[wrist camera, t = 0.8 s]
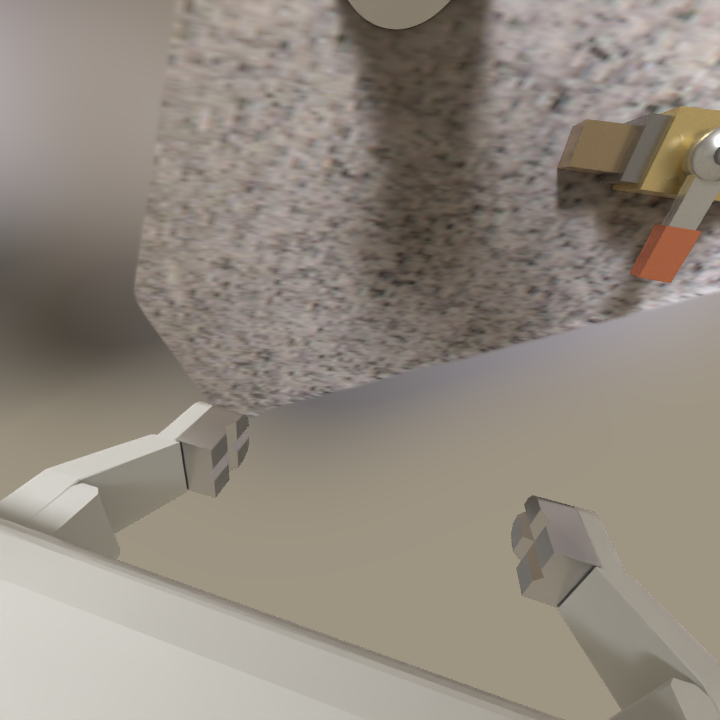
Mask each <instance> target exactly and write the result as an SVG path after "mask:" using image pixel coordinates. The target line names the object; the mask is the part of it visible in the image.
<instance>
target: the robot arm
mask: <svg viewBox="0 0 720 720" xmlns="http://www.w3.org/2000/svg"><path fill="white" fill-rule="evenodd" d="M348 1H349V3H350V4H351V5H352V7H353V8H354V9H355V10H356V11H357V12H358V13H359V14H360V15H361V16H362V17H363V18H365V19H366V20H367V21H369V22H371V23H372V24H375V25H377V26H380V27H383V28H387V29H404V28H409V27H413V26H416V25H418V24H421V23H423V22H425V21H426V20H428V19H430V18H431V17H433V16H434V15H435V14H437V13H438V12H439V11H440V10H441V9H443V8H444V7H445V6H446V5H447V4H448V3H449V1H450V0H348ZM248 426H249V421H248V417H247V416H246V415H244V414H241V413H237V412H234V411H231V410H228V409H224V408H221V407H218V406H213V405H210V404H207V403H204V402H197V403H195V404H193V405H192V406H191V407H190V408H189V409H188V410H186V411H185V412H184V413H183V414H182V415H181V416H179V417H178V418H177V419H176V420H175V421H173V422H172V423H171V424H170V425H169V426H168V427H166V428H165V429H164V430H163V431H162V432H161V433H159V434H158V435H154V434H151V435H148V436H145V437H142V438H139V439H136V440H133V441H130V442H127V443H124V444H121V445H117V446H115V447H112V448H108V449H105V450H102V451H99V452H97V453H93V454H90V455H87V456H85V457H81V458H78V459H75V460H72V461H69V462H66V463H63V464H60V465H57V466H54V467H51V468H48V469H46V470H44V471H43V472H42V473H40V474H38V475H37V476H36V477H34V478H33V479H31V480H30V481H28V482H27V483H26V484H24V485H23V486H21V487H20V488H19V489H17V490H16V491H14V492H13V493H11V494H10V495H9V496H7V497H6V498H4V499H3V500H1V501H0V720H564V719H561V718H557V717H555V716H552V715H549V714H547V713H544V712H541V711H538V710H536V709H533V708H530V707H527V706H524V705H522V704H519V703H516V702H513V701H510V700H508V699H505V698H502V697H499V696H496V695H494V694H491V693H488V692H485V691H482V690H480V689H477V688H474V687H471V686H469V685H466V684H463V683H460V682H458V681H455V680H452V679H449V678H446V677H443V676H441V675H438V674H435V673H432V672H430V671H427V670H424V669H421V668H418V667H416V666H413V665H410V664H407V663H404V662H402V661H399V660H396V659H393V658H390V657H387V656H385V655H382V654H379V653H376V652H374V651H371V650H368V649H365V648H363V647H360V646H357V645H354V644H351V643H349V642H346V641H343V640H340V639H337V638H335V637H332V636H329V635H326V634H324V633H321V632H318V631H315V630H312V629H309V628H307V627H304V626H301V625H298V624H296V623H293V622H290V621H287V620H284V619H281V618H279V617H276V616H273V615H270V614H268V613H265V612H262V611H259V610H256V609H254V608H251V607H248V606H245V605H243V604H240V603H237V602H234V601H231V600H228V599H226V598H223V597H220V596H217V595H214V594H212V593H209V592H206V591H203V590H201V589H198V588H195V587H192V586H189V585H187V584H184V583H181V582H178V581H175V580H173V579H170V578H167V577H164V576H162V575H159V574H156V573H153V572H150V571H148V570H145V569H141V568H139V567H136V566H133V565H131V564H128V563H125V562H122V561H120V560H117V559H116V558H118V556H119V555H120V547H119V545H118V542H117V539H116V536H115V533H117V532H118V531H120V530H122V529H124V528H125V527H127V526H129V525H130V524H132V523H134V522H136V521H138V520H139V519H141V518H143V517H144V516H146V515H148V514H150V513H151V512H153V511H155V510H156V509H158V508H160V507H162V506H163V505H165V504H167V503H169V502H170V501H172V500H174V499H176V498H177V497H179V496H181V495H183V494H184V493H186V492H187V490H190V491H193V492H197V493H200V494H204V495H207V496H211V497H214V498H216V497H217V495H218V494H219V493H220V491H221V490H222V489H223V487H224V486H225V485H226V483H227V482H228V481H229V472H230V471H232V470H234V469H236V468H238V467H239V465H240V464H241V463H242V461H243V460H244V458H245V456H246V453H247V451H248V446H249V436H248V435H247V433H246V432H245V430H246V429H247V427H248ZM525 509H526V512H524V513H521V514H519V515H518V516H517V517H516V519H515V521H514V523H513V528H512V534H511V535H512V547H513V551H514V553H515V554H516V555H517V557H518V558H519V559H520V561H521V562H520V564H519V565H518V567H517V573H518V578H519V583H520V588H521V593H522V596H525V597H528V598H531V599H534V600H537V601H540V602H543V603H545V604H548V605H551V606H554V607H557V608H558V609H557V610H558V612H559V613H560V615H561V616H562V618H563V619H564V621H565V622H566V624H567V626H568V627H569V629H570V630H571V632H572V633H573V635H574V637H575V638H576V640H577V641H578V643H579V644H580V646H581V647H582V649H583V650H584V652H585V653H586V655H587V657H588V658H589V660H590V661H591V663H592V664H593V666H594V668H595V669H596V671H597V672H598V674H599V675H600V677H601V679H602V680H603V682H604V683H605V685H606V686H607V688H608V690H609V691H610V693H611V694H612V696H613V697H614V699H615V700H616V702H617V703H618V705H619V707H620V708H621V710H622V711H620V712H618V713H617V714H615V715H614V716H612V717H611V718H609V719H607V720H720V664H719V663H718V662H717V661H716V660H715V659H714V658H713V657H712V656H711V655H710V654H709V653H708V652H707V651H706V650H705V649H704V648H703V647H702V646H701V645H700V644H699V643H698V642H697V641H696V640H695V639H694V638H693V637H692V636H691V635H690V634H689V633H688V632H687V631H686V630H685V629H684V628H683V627H682V626H681V625H680V624H679V623H678V622H677V621H676V620H675V619H674V618H673V617H672V616H671V615H670V614H669V613H668V612H667V611H666V610H665V609H664V608H663V607H662V606H661V605H660V604H659V603H658V602H657V601H656V600H655V599H654V598H653V597H652V596H651V595H650V594H649V593H648V592H647V591H646V590H645V589H644V588H643V587H642V586H641V585H640V584H639V583H638V582H637V581H636V580H635V579H634V578H631V577H629V576H627V575H626V573H625V571H624V568H623V566H622V564H621V562H620V560H619V558H618V556H617V554H616V552H615V550H614V548H613V546H612V543H611V542H610V539H609V537H608V535H607V533H606V531H605V529H604V527H603V525H602V523H601V521H600V518H599V517H598V515H597V514H596V513H595V512H593V511H589V510H586V509H582V508H578V507H574V506H570V505H567V504H563V503H559V502H555V501H552V500H548V499H545V498H541V497H537V496H531V497H529V498H528V499H527V501H526V503H525Z"/></svg>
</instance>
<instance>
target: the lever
mask: <svg viewBox="0 0 720 720" xmlns="http://www.w3.org/2000/svg"><path fill="white" fill-rule="evenodd" d="M682 167H683V172H684V174H685V175H686V176H687V178H686V180H685V181H684V183H683V185H682V187H681V189H680V191H679V192H678V194H677V196H676V198H675V200H674V202H673V204H672V205H671V207H670V209H669V211H668V213H667V215H666V216H665V218H664V220H663V222H662V224H661V225H658V224H655V226H654V228H653V230H652V232H651V234H650V235H649V237H648V239H647V241H646V243H645V245H644V247H643V248H642V250H641V252H640V254H639V256H638V258H637V260H636V262H635V263H634V265H633V267H632V269H631V271H630V274H632V275H635V276H637V277H640V278H645V279H651V280H657V281H662V282H668V283H671V282H672V280H673V278H674V277H675V275H676V273H677V272H678V270H679V268H680V267H681V265H682V263H683V262H684V260H685V259H686V257H687V255H688V254H689V252H690V250H691V249H692V247H693V245H694V244H695V242H696V240H697V239H698V237H699V235H700V234H701V232H702V231H696V229H697V228H698V226H699V224H700V223H701V221H702V219H703V217H704V216H705V214H706V212H707V211H708V209H709V207H710V206H711V204H712V202H713V201H714V199H715V197H716V196H717V194H718V192H719V191H720V126H719V127H715V128H712V129H710V130H708V131H706V132H704V133H703V134H701V135H700V136H699V137H697V138H696V139H695V140H694V141H693V142H692V143H691V145H690V146H689V147H688V149H687V151H686V153H685V155H684V158H683V163H682Z"/></svg>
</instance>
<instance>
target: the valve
mask: <svg viewBox="0 0 720 720" xmlns="http://www.w3.org/2000/svg"><path fill="white" fill-rule="evenodd" d="M719 126H720V111H718V110H709V109H701V108H692V107H683V106H680V107H678V108H675V109H672V110H669V111H666V112H664V113H661V114H654V113H651V114H648V115H645V116H643V117H640V118H637V119H635V120H632V121H629V122H627V123H624V124H621V123H612V122H604V121H596V120H588V119H587V120H585V121H583V122H581V123H579V124H577V125H575V126H573V128H572V130H571V133H570V136H569V138H568V141H567V144H566V147H565V149H564V152H563V155H562V157H561V160H560V163H559V165H558V168H557V169H564V170H571V171H578V172H586V173H593V174H600V175H601V176H600V179H599V181H598V182H601V183H608V184H614V185H613V187H612V189H611V190H618V191H625V192H631V193H638V194H645V195H652V196H659V197H665V198H672V199H675V198H676V196H677V194H678V192H679V191H680V189H681V187H682V185H683V183H684V181H685V180H686V178H687V176H686V175H685V174H684V172H683V167H682V163H683V158H684V155H685V153H686V151H687V149H688V147H689V146H690V145H691V143H692V142H693V141H694V140H695V139H696V138H697V137H699V136H700V135H701V134H703V133H704V132H706V131H708V130H710V129H712V128H715V127H719ZM714 201H718V202H720V191H719V192H718V194H717V196H716V197H715V199H714Z"/></svg>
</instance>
